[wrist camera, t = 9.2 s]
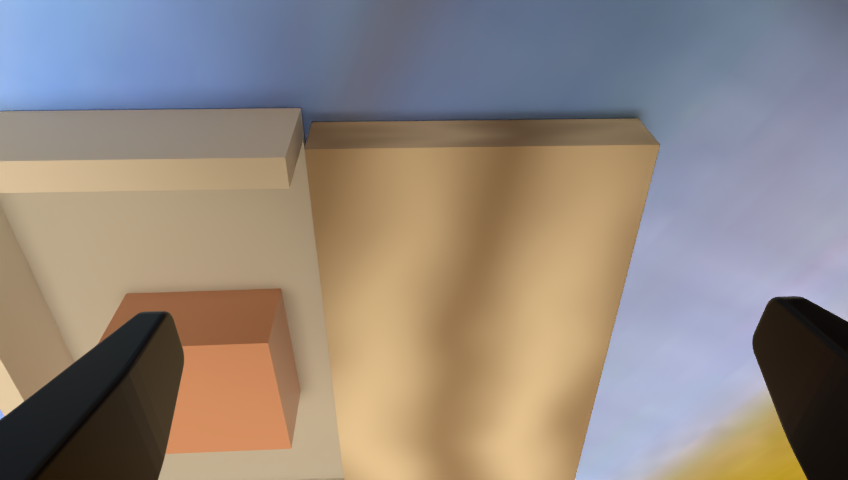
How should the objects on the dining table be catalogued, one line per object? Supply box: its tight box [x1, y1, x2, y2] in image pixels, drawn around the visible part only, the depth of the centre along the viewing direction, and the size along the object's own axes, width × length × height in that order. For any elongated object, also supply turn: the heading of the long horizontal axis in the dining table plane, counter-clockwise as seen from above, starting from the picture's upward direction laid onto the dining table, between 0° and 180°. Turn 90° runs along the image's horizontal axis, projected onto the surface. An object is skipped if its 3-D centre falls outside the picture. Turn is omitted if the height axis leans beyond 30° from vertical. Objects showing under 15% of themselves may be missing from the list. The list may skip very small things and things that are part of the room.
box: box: [0, 108, 344, 480], centre depth 24 cm, size 12×21×4 cm, turn 0°
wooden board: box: [304, 118, 660, 480], centre depth 25 cm, size 11×20×2 cm, turn 0°
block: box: [98, 288, 301, 454], centre depth 24 cm, size 6×6×3 cm
